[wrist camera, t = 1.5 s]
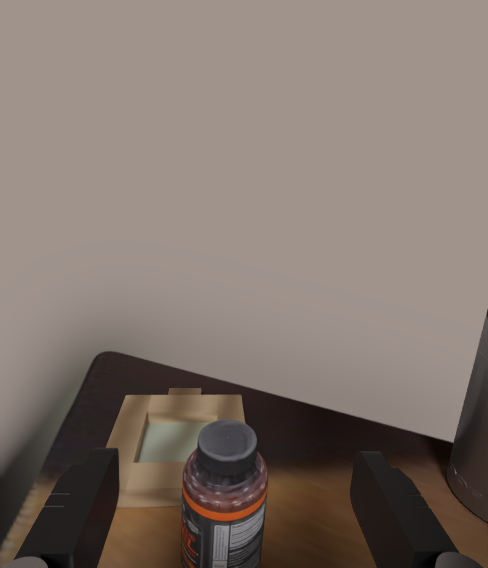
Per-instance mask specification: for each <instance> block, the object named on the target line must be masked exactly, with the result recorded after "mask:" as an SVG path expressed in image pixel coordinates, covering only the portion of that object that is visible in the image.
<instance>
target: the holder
mask: <svg viewBox="0 0 488 568" xmlns="http://www.w3.org/2000/svg"><path fill="white" fill-rule="evenodd" d="M222 419H231V420H236V421H240V422H243V423H244V424H245V419H244V412H243V405H242V398H241V395H201V388H169V393H168V395H126V397H125V400H124V402H123V405H122V407H121V410H120V412H119V415H118V418H117V420H116V423H115V425H114V428H113V430H112V433H111V436H110V438H109V441H108V443H107V446H106V448H118V451H119V482H120V489H119V498H118V503H117V507H116V508H136V507H166V506H182V480H183V470H184V466H185V464H186V461H187V459H188V458H189V456H190V455H191V454H192V452H193V451H194V450H195V449H196V448H197V443H198V436H199V433H200V431H201V430H202V428H203V427H205V426H206V425H207V424H209V423H211V422H214V421H217V420H222Z"/></svg>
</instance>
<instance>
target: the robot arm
mask: <svg viewBox="0 0 488 568" xmlns="http://www.w3.org/2000/svg"><path fill="white" fill-rule="evenodd" d="M446 476H447V481H448V483H449V486H450V488H451V489H452V491H453V492H454V494H455V495H456V497H457V498H458V499H459V500H460V501H461V502H462V503H463V504H464V505H465V506H466V507H467V508H468V509H470V510H471V511H472V512H473V513H474V514H476V515H477V516H479V517H480V518H482V519H483V520H484V521H486V522H488V310H487V315H486V318H485V322H484V326H483V330H482V334H481V338H480V342H479V346H478V350H477V354H476V358H475V362H474V366H473V370H472V373H471V377H470V381H469V385H468V389H467V393H466V397H465V401H464V405H463V408H462V412H461V416H460V420H459V424H458V428H457V432H456V436H455V439H454V444H453V448H452V452H451V456H450V460H449V464H448V468H447V472H446ZM119 489H120V482H119V451H118V448H93V449H92V451H91V453H90V455H89V457H88V459H87V461H86V463H85V465H73V466H72V467H71V468H70V469H69V470H67V471H66V472H65V473H64V474H63V475H62V476H61V477H60V478H59V480H58V481H57V483H56V485H55V487H54V489H53V490H52V492H51V495H50V496H49V498H48V499H47V501H46V503H45V505H44V508H42V510H41V512H40V514H39V515H38V517H37V519H36V521H35V523H34V524H33V526H32V528H31V530H30V532H29V533H28V535H27V537H26V539H25V541H24V542H23V544H22V546H21V548H20V550H19V551H18V553H17V555H16V557H15V558H14V560H13V561H11V562H9V563H7V564H5V565H4V566H2V567H1V568H97V566H98V563H99V560H100V557H101V553H102V550H103V547H104V544H105V541H106V538H107V535H108V532H109V529H110V526H111V523H112V520H113V517H114V514H115V511H116V507H117V503H118V498H119ZM350 497H351V503H352V507H353V510H354V513H355V515H356V517H357V520H358V522H359V525H360V527H361V530H362V532H363V534H364V537H365V539H366V542H367V544H368V546H369V549H370V551H371V554H372V556H373V558H374V561H375V563H376V566H377V568H483V567H482V566H481V565H480V564H478V563H477V562H476V561H474V560H473V559H471V558H469V557H467V556H465V555H463V554H460V553H459V551H458V550H457V548H456V547H455V545H454V544H453V542H452V541H451V539H450V538H449V536H448V535H447V533H446V532H445V530H444V529H443V527H442V526H441V524H440V523H439V521H438V520H437V518H436V516H435V515H434V513H433V512H432V510H431V509H429V507H428V504H427V503H426V501H425V500H424V498H423V497H421V494H420V492H419V491H418V489H417V488H416V486H415V485H414V483H413V481H412V480H411V479H410V478H409V477H407V476H406V475H405V474H404V473H403V472H402V471H401V470H399V469H398V468H391V467H390V465H389V463H388V462H387V460H386V459H385V457H384V455H383V454H382V453H381V452H379V451H358V452H357V453H356V457H355V463H354V469H353V475H352V481H351V487H350Z"/></svg>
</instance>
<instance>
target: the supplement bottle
mask: <svg viewBox="0 0 488 568" xmlns="http://www.w3.org/2000/svg"><path fill="white" fill-rule="evenodd" d="M267 486H268V471H267V467H266V464H265V462H264V460H263V458H262V456H261V455H260V454H259V452H258V451H257V437H256V434H255V432H254V431H253V430H252V429H251V427H249V426H248V425H247V424H244V423H243V422H240V421H236V420H231V419H222V420H217V421H214V422H211V423H209V424H207V425H206V426H205V427H203V428H202V430H201V431H200V433H199V436H198V443H197V448H196V449H195V450H194V451H193V452H192V454H191V455H190V456H189V458H188V459H187V461H186V464H185V466H184V470H183V480H182V531H181V535H182V537H181V539H182V540H181V559H182V568H259V564H260V559H261V548H262V539H263V528H264V519H265V509H266V498H267Z"/></svg>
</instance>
